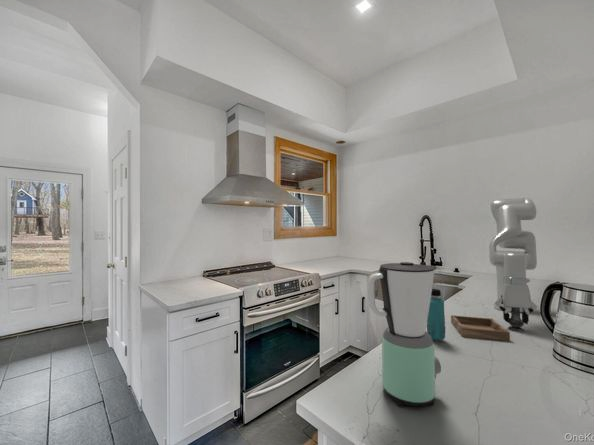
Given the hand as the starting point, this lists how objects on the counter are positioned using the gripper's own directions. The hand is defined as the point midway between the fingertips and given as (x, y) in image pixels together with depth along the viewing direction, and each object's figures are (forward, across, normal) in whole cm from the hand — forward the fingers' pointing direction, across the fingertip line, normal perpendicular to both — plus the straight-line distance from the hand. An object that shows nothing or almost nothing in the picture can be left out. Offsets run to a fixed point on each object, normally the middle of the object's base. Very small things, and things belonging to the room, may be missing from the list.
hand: (515, 321), depth 115 cm
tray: (+3, +17, +8) cm, 19 cm away
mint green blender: (+3, +51, +63) cm, 81 cm away
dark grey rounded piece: (+3, 0, 0) cm, 3 cm away
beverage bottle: (+3, +36, +23) cm, 43 cm away
